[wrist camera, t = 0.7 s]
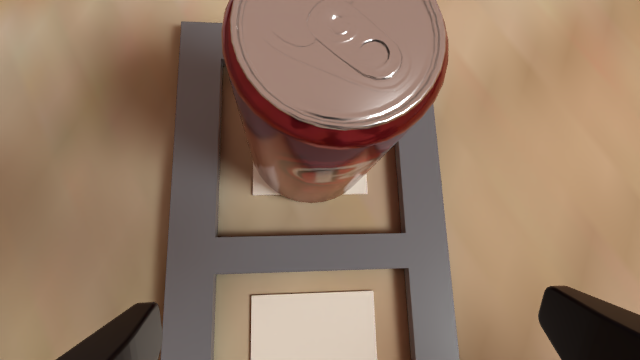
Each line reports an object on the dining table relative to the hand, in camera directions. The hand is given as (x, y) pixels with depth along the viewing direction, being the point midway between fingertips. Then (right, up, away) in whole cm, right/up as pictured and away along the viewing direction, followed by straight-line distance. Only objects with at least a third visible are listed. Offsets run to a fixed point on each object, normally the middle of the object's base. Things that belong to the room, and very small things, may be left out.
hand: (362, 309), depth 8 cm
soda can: (-2, +5, +14) cm, 15 cm away
